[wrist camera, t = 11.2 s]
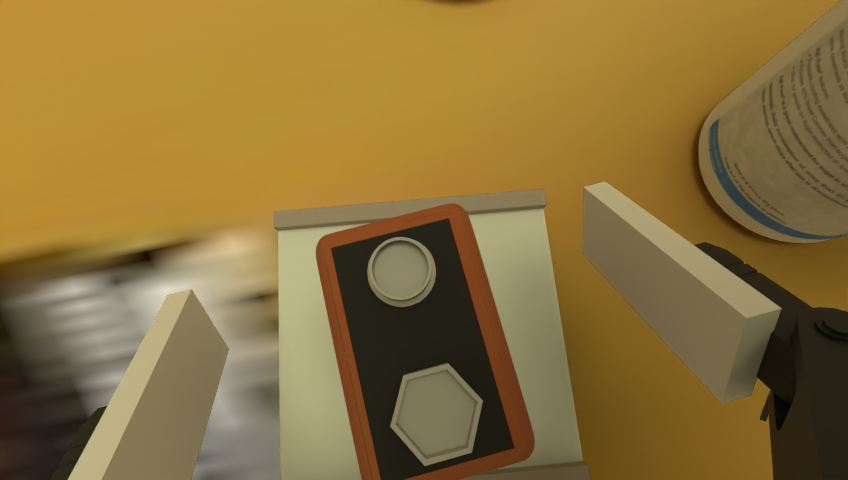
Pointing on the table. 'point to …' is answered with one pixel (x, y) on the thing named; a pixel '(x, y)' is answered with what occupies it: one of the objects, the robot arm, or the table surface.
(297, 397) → the stand
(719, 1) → the table surface
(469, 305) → the battery
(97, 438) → the robot arm
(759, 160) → the supplement tub
